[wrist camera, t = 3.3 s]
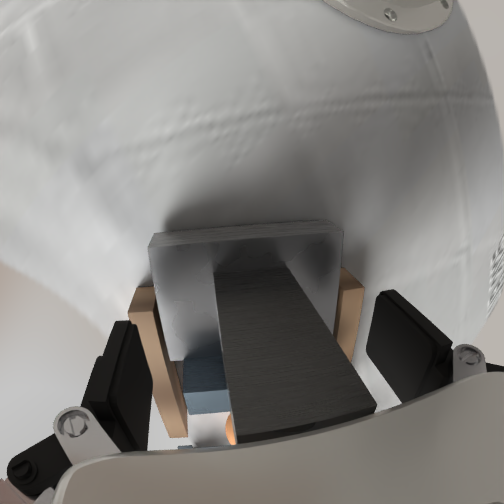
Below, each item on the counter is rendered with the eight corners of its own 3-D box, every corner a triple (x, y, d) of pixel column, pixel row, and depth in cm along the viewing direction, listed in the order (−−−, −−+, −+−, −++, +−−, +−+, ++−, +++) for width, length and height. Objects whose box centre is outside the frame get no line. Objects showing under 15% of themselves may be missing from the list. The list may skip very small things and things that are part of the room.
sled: (154, 233, 14) (91, 397, 4) (326, 220, 15) (473, 331, 6) (177, 362, 16) (179, 523, 7) (316, 345, 18) (389, 480, 8)
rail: (136, 287, 15) (127, 312, 13) (344, 267, 17) (364, 287, 14) (170, 410, 19) (169, 437, 16) (326, 389, 20) (338, 413, 18)
